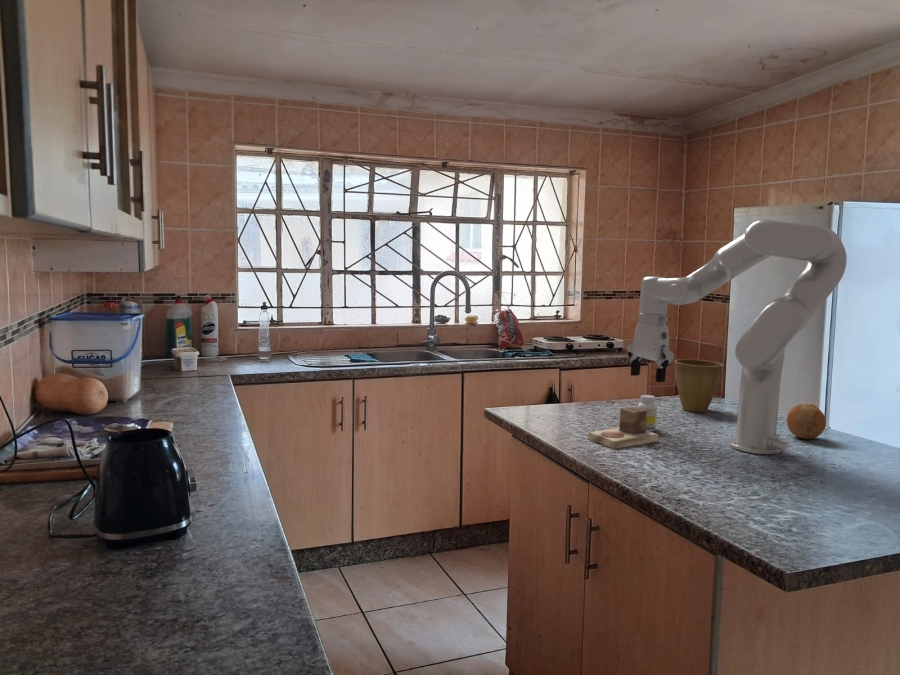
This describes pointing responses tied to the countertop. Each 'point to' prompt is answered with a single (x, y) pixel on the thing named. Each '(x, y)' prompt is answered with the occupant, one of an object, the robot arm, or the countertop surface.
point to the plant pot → (697, 383)
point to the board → (621, 438)
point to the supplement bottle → (649, 411)
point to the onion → (806, 421)
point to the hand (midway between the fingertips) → (647, 378)
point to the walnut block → (633, 420)
